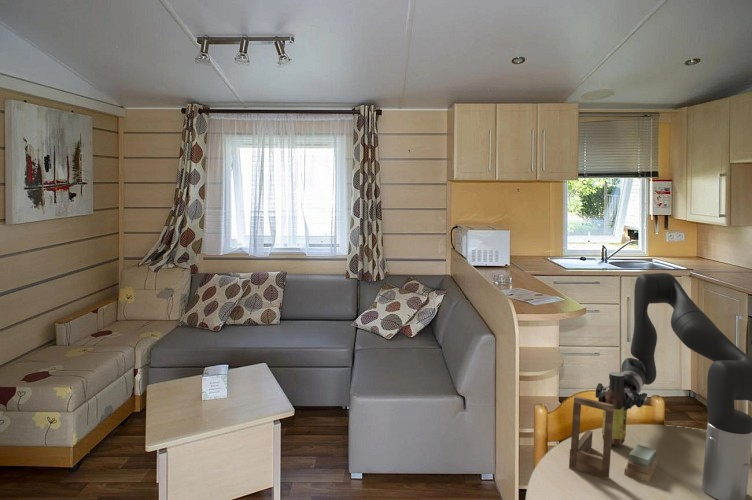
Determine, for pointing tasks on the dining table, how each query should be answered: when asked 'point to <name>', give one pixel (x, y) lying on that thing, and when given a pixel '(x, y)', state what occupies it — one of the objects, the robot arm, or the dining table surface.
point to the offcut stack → (641, 463)
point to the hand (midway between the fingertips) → (613, 403)
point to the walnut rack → (590, 441)
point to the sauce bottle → (616, 407)
